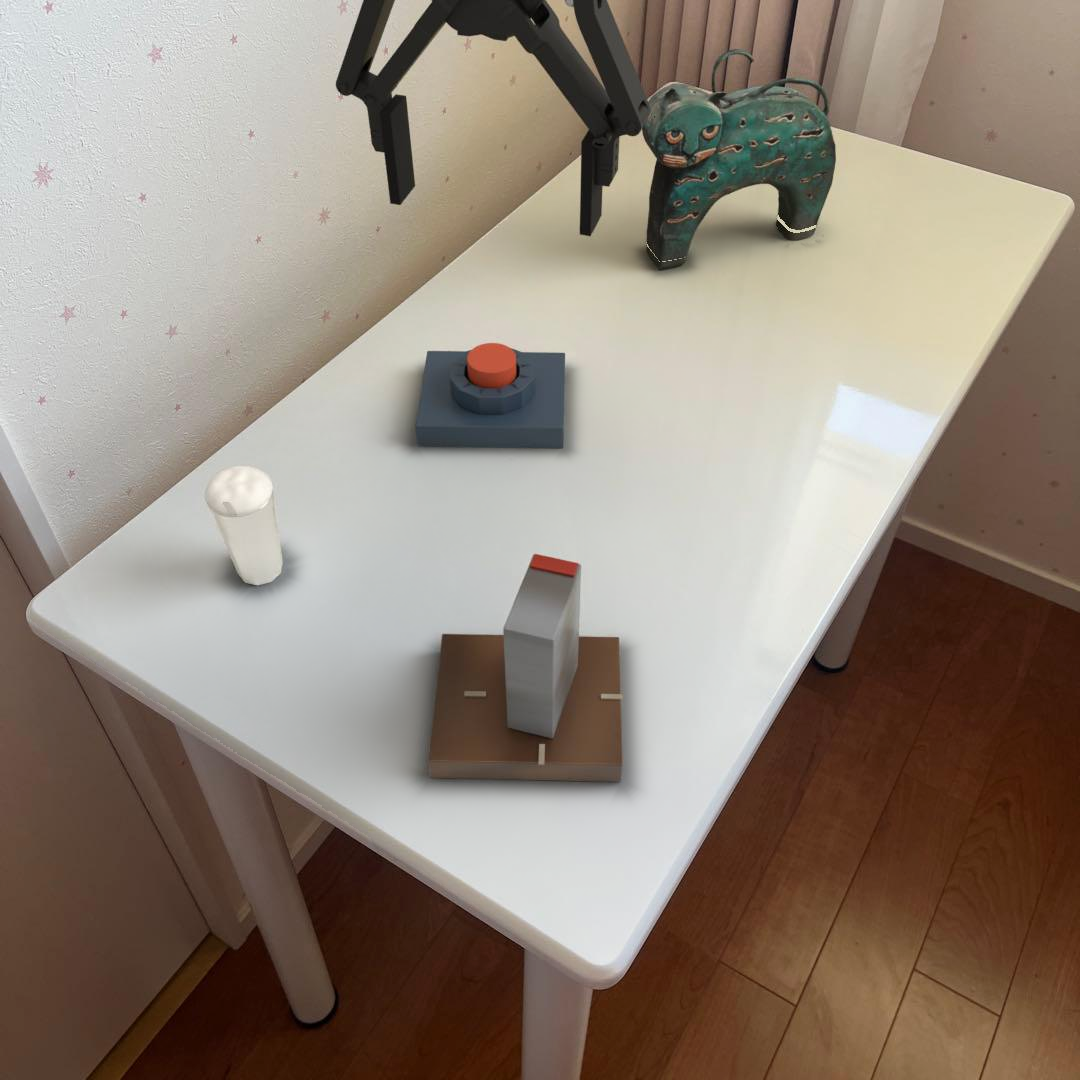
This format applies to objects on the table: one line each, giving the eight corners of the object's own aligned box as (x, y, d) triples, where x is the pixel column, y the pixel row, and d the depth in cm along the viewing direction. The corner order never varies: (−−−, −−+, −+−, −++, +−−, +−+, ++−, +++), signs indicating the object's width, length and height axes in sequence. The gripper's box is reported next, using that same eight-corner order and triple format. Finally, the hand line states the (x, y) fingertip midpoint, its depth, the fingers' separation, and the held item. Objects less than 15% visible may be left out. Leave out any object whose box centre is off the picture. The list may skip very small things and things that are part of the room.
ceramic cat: (647, 280, 107) (663, 75, 92) (622, 245, 111) (633, 44, 97) (829, 243, 111) (871, 42, 97) (798, 211, 116) (834, 14, 101)
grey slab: (552, 739, 69) (553, 637, 61) (507, 727, 69) (502, 625, 62) (578, 665, 73) (581, 561, 65) (534, 654, 73) (533, 550, 66)
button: (466, 389, 90) (465, 372, 89) (469, 359, 93) (468, 342, 91) (515, 390, 90) (514, 373, 89) (517, 359, 93) (517, 342, 91)
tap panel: (429, 779, 69) (427, 761, 68) (444, 650, 76) (441, 630, 75) (622, 783, 69) (624, 765, 67) (619, 653, 76) (620, 634, 74)
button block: (417, 446, 91) (413, 408, 88) (429, 370, 97) (425, 333, 95) (563, 448, 90) (564, 411, 87) (564, 372, 97) (565, 335, 94)
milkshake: (222, 602, 79) (190, 503, 72) (234, 547, 83) (204, 448, 76) (286, 600, 79) (260, 501, 72) (295, 545, 83) (271, 446, 76)
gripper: (720, -145, 60) (685, 209, 75) (302, -180, 65) (350, 157, 81) (690, -100, 55) (660, 269, 70) (241, -142, 60) (305, 209, 76)
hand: (495, 210), depth 75 cm, fingers open, 13 cm apart
